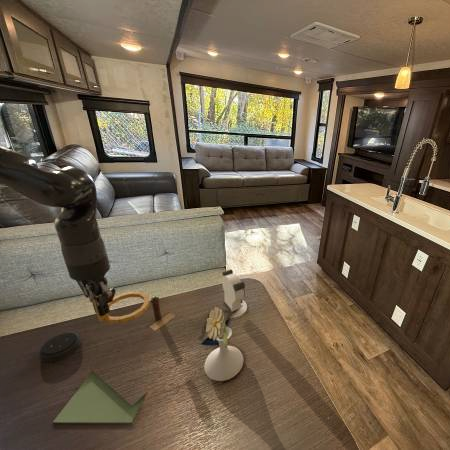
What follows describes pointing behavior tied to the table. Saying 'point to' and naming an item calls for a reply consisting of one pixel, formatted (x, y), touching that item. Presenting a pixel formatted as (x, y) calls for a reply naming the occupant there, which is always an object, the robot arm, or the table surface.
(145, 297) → the orange ring with tab
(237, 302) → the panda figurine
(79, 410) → the olive green flat piece
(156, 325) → the stand
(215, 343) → the cell phone
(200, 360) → the table surface
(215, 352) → the flower in vase
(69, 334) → the smart speaker
